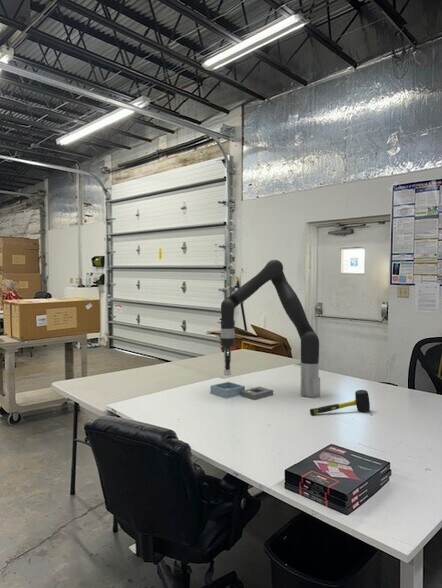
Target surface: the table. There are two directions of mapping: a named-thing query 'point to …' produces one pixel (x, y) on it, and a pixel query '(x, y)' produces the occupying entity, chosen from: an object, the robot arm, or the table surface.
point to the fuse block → (256, 393)
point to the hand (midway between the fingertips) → (227, 368)
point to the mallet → (348, 404)
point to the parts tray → (227, 389)
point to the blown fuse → (226, 372)
